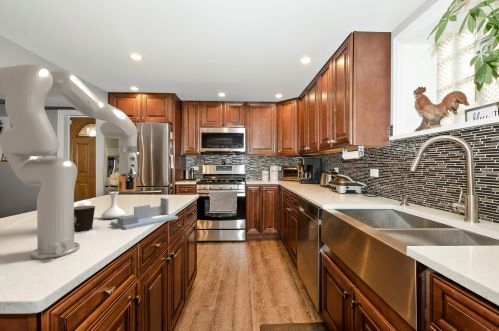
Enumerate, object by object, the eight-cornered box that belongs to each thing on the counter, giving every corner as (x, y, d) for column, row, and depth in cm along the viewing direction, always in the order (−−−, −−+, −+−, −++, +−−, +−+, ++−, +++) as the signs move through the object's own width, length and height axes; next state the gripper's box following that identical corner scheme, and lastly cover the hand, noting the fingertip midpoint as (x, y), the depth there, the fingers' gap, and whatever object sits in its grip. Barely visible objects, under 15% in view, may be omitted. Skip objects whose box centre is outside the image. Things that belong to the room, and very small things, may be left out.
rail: (178, 218, 126) (178, 199, 126) (126, 229, 105) (125, 206, 105) (161, 214, 136) (161, 196, 136) (111, 223, 115) (111, 203, 115)
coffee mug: (95, 230, 104) (95, 207, 104) (70, 233, 99) (70, 210, 99) (94, 224, 114) (94, 204, 113) (72, 227, 109) (72, 205, 109)
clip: (136, 190, 112) (136, 176, 112) (122, 191, 107) (123, 176, 107) (130, 190, 115) (131, 175, 115) (117, 190, 110) (118, 175, 110)
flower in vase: (96, 219, 124) (96, 172, 124) (114, 214, 135) (113, 171, 135) (116, 221, 121) (116, 172, 120) (132, 216, 132) (132, 171, 131)
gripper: (144, 150, 109) (143, 189, 109) (127, 151, 120) (126, 187, 119) (127, 149, 103) (127, 190, 103) (111, 150, 114) (110, 188, 113)
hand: (127, 188), depth 111 cm, fingers closed on clip, 5 cm apart
